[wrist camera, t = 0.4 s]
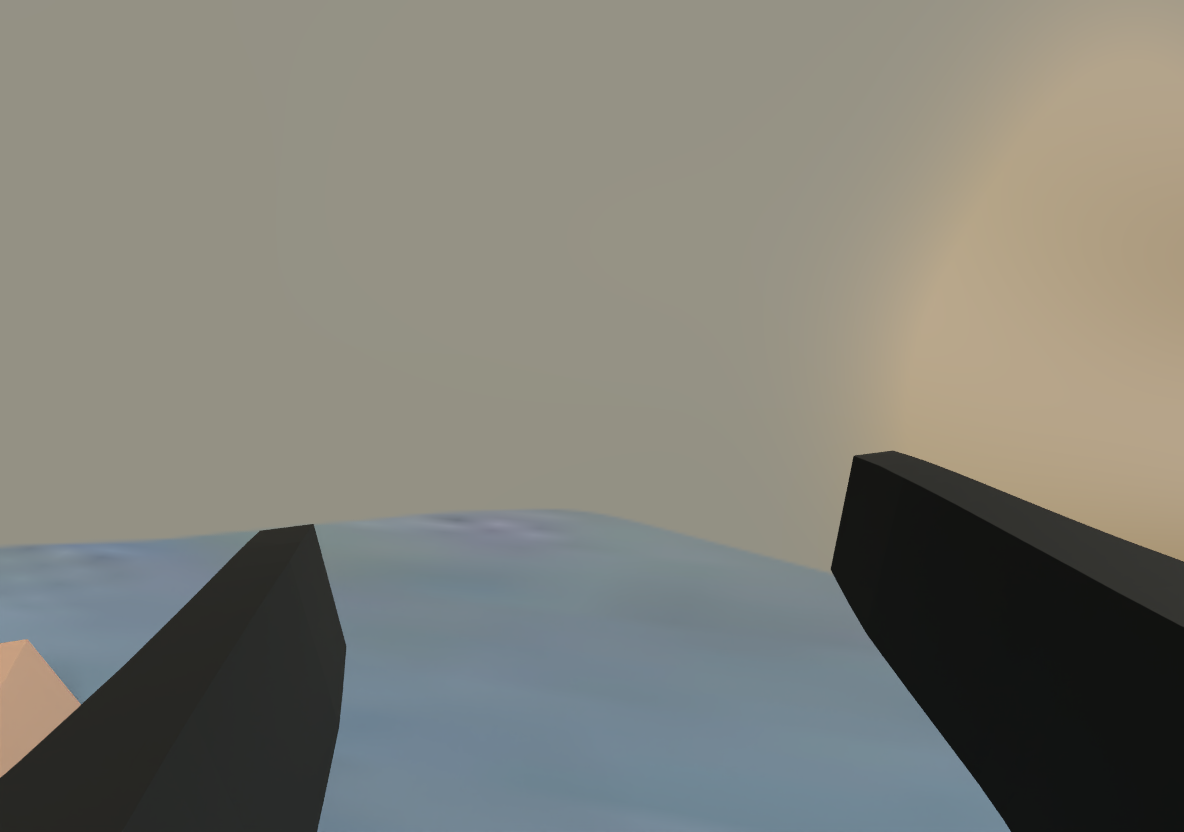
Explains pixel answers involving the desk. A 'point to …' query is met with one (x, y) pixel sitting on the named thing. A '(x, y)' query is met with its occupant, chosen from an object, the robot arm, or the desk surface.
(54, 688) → the terracotta block
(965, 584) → the robot arm
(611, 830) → the desk surface
